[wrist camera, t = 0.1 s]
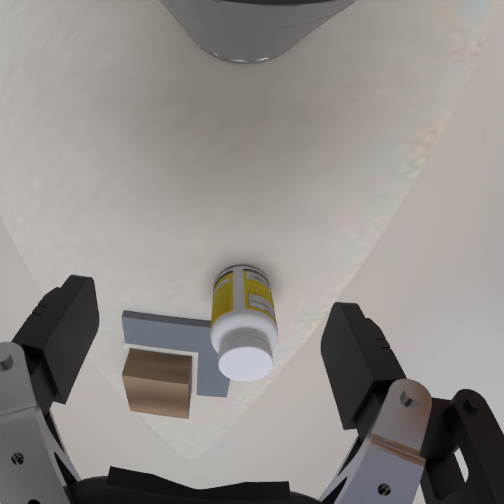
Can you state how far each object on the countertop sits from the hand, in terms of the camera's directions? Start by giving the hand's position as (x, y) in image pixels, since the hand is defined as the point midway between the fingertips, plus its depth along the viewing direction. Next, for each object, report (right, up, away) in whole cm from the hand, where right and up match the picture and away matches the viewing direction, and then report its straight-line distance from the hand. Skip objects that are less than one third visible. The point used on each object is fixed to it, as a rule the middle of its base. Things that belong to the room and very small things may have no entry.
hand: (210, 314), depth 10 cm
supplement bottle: (0, -1, +21) cm, 21 cm away
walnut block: (-9, -12, +25) cm, 29 cm away
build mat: (-7, -10, +25) cm, 28 cm away
